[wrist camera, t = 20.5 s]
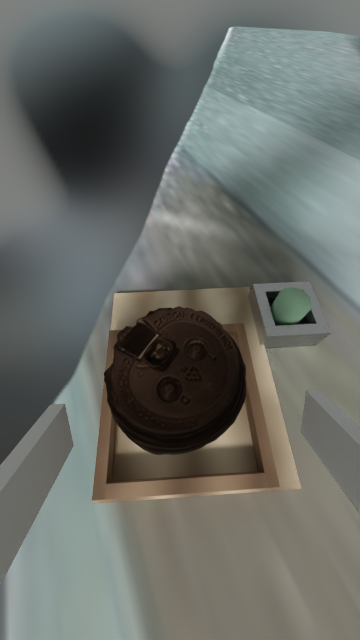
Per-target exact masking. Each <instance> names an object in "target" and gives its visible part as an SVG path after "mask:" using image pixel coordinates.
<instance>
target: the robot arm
mask: <svg viewBox="0 0 360 640" xmlns="http://www.w3.org/2000/svg"><path fill="white" fill-rule="evenodd" d="M301 433H302V434H303V436H304V437H305V439H306V440H307V441H308V443H309V444H310V445H311V447H312V448H313V450H314V451H315V452H316V454H317V455H318V457H319V458H320V459H321V461H322V462H323V464H324V465H325V466H326V468H327V469H328V470H329V472H330V473H331V475H332V476H333V477H334V479H335V480H336V482H337V483H338V484H339V486H340V487H341V488H342V490H343V491H344V493H345V494H346V495H347V497H348V498H349V500H350V501H351V502H352V504H353V505H354V507H355V508H356V509H357V511H358V512H359V513H360V426H359V425H358V424H357V423H355V422H354V421H353V420H352V419H351V418H350V417H349V416H348V415H347V414H346V413H345V412H343V411H342V410H341V409H340V408H339V407H338V406H337V405H336V404H335V403H334V402H333V401H331V400H330V399H329V398H328V397H327V396H326V395H325V394H324V393H323V392H322V391H321V390H309V391H306V395H305V404H304V412H303V420H302V428H301ZM72 447H73V441H72V436H71V431H70V426H69V422H68V417H67V412H66V408H65V404H54V405H50V406H49V407H48V408H47V409H46V411H45V412H44V413H43V414H42V416H41V417H40V418H39V419H38V420H37V422H36V423H35V424H34V425H33V427H32V428H31V429H30V430H29V432H28V433H27V434H26V435H25V436H24V438H23V439H22V440H21V441H20V442H19V444H18V445H17V446H16V447H15V448H14V450H13V451H12V452H11V453H10V455H9V456H8V457H7V458H6V460H5V461H4V462H3V463H2V464H1V465H0V585H1V583H2V581H3V579H4V577H5V575H6V573H7V571H8V569H9V567H10V566H11V564H12V562H13V560H14V558H15V556H16V554H17V552H18V550H19V548H20V547H21V545H22V543H23V541H24V539H25V537H26V535H27V533H28V531H29V529H30V527H31V526H32V524H33V522H34V520H35V518H36V516H37V514H38V512H39V510H40V508H41V506H42V505H43V503H44V501H45V499H46V497H47V495H48V493H49V491H50V489H51V487H52V485H53V484H54V482H55V480H56V478H57V476H58V474H59V472H60V470H61V468H62V466H63V464H64V463H65V461H66V459H67V457H68V455H69V453H70V451H71V449H72Z"/></svg>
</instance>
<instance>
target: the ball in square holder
mask: <svg viewBox="0 0 360 640" xmlns="http://www.w3.org/2000/svg"><path fill="white" fill-rule="evenodd" d="M289 287H293V288H298V289H301V290H303V291H304V292H305V293H307V294H308V295H309V297H310V298H311V301H312V307H311V310H310V311H309V312H308V313H307V314H306V315H305V316H304V317H303V318H302V319H301V320H300V322H299V323H298V325H281V326H275V323H274V319H273V316H272V313H271V309H270V307H271V305H272V304H273V302H274V301H275V299H276V298H277V296H278V294H279V293H280V291H281V290H283V289H285V288H289ZM248 299H249V303H250V307H251V311H252V315H253V319H254V323H255V327H256V331H257V335H258V339H259V343H260V346H261V345H264V346H265V348H281V347H298V346H315V345H316V344H318V343H319V342H320V341H322V340H323V339H324V338H326V337H327V336H328V335H330V334H331V333H332V332H331V330H330V327H329V325H328V323H327V320H326V318H325V316H324V313H323V311H322V308H321V306H320V304H319V301H318V299H317V297H316V294H315V292H314V290H313V287H312V285H311V283H310V281H305V282H285V283H265V284H253V285H252V288H251V290H250V292H249V295H248Z"/></svg>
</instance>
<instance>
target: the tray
mask: <svg viewBox="0 0 360 640" xmlns="http://www.w3.org/2000/svg"><path fill="white" fill-rule="evenodd" d="M249 292H250V287H233V288H213V289H193V290H173V291H153V292H134V293H114V302H113V312H112V322H111V330H109V340H108V350H107V360H106V369H105V371H106V370H107V369H108V368H109V367H110V366H111V364H112V363H113V358H114V349H113V347H114V345H115V343H116V342H117V334H118V333H119V332H120V331H121V330H122V329H124V328H125V327H126V326H128V327H129V326H131V327H133V326H135V325H136V321H137V320H138V319H139V318H142V317H144V316H146V315H147V314H148V313H149V311H154V310H157V309H158V308H170V307H171V308H175V307H178V306H180V307H182V308H187V307H188V308H191V309H193V310H195V311H204V312H206V313H207V314H209V315H210V316H212V317H213V318H214V319H215V320H216V321H217V322H219V323H221V325H222V327H223V329H224V330H226V331H227V332H228V333H229V334H230V336H231V337H232V338H233V339H234V341H235V342H236V344H237V346H238V348H239V350H240V352H241V355H242V358H243V361H244V364H245V366H246V377H245V378H246V398H245V402H244V404H243V407H242V409H241V411H240V413H239V415H238V416H237V419H236V420H235V422H234V424H232V425H231V426H230V427H229V428H228V429H227V430H226V432H224V434H222V435H221V436H220V437H219V438H218V439H217V440H215V441H213V442H211V443H209V444H207V445H205V446H204V447H202V448H200V449H198V450H195V451H192V452H189V453H185V454H178V455H168V454H165V455H155V454H152V453H149V452H147V451H145V450H143V449H142V448H140V447H139V446H138V445H136V444H135V443H134V442H132V441H131V440H130V439H129V438H128V437H127V436H126V435H125V433H123V432H122V430H121V429H120V427H119V426H118V425H117V423H116V422H115V420H114V418H113V416H112V414H111V410H110V407H109V404H108V402H107V397H108V396H107V390H106V384H105V381H104V389H103V398H102V408H101V418H100V428H99V437H98V447H97V457H96V466H95V476H94V486H93V496H92V500H94V502H93V504H94V503H108V502H122V501H136V500H150V499H164V498H178V497H191V496H205V495H219V494H233V493H247V492H261V491H275V490H289V489H301V486H300V482H299V478H298V474H297V470H296V466H295V462H294V458H293V455H292V451H291V447H290V443H289V439H288V435H287V431H286V427H285V423H284V420H283V416H282V412H281V408H280V404H279V400H278V396H277V392H276V388H275V385H274V381H273V377H272V373H271V369H270V365H269V361H268V357H267V354H266V350H265V346H264V345H261V346H260V343H259V339H258V335H257V331H256V327H255V323H254V319H253V315H252V311H251V307H250V303H249V299H248V295H249Z"/></svg>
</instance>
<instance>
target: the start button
mask: <svg viewBox="0 0 360 640" xmlns="http://www.w3.org/2000/svg"><path fill="white" fill-rule="evenodd" d="M311 307H312V301H311V298H310V297H309V295H308V294H307V293H305V292H304V291H303V290H301V289H298V288H293V287H289V288H285V289H283V290H281V291H280V293H279V294H278V296H277V298H276V299H275V301H274V302H273V304H272V305H271V307H270V309H271V313H272V316H273V319H274V323H275V326H281V325H297V324H298V323H299V322H300V320H301V319H302V318H303V317H304V316H305V315H306V314H307V313H308V312H309V311H310V310H311Z"/></svg>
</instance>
